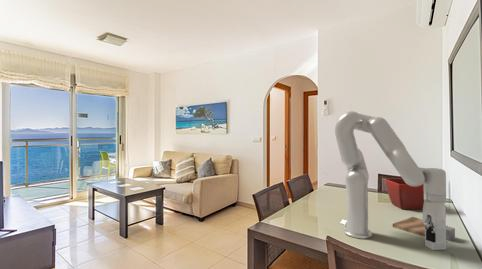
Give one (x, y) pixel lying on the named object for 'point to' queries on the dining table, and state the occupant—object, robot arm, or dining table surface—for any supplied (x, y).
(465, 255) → the dining table surface
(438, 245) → the skincare box
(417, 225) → the walnut board
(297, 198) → the dining table surface
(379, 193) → the dining table surface
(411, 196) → the plant pot
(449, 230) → the graphite block
